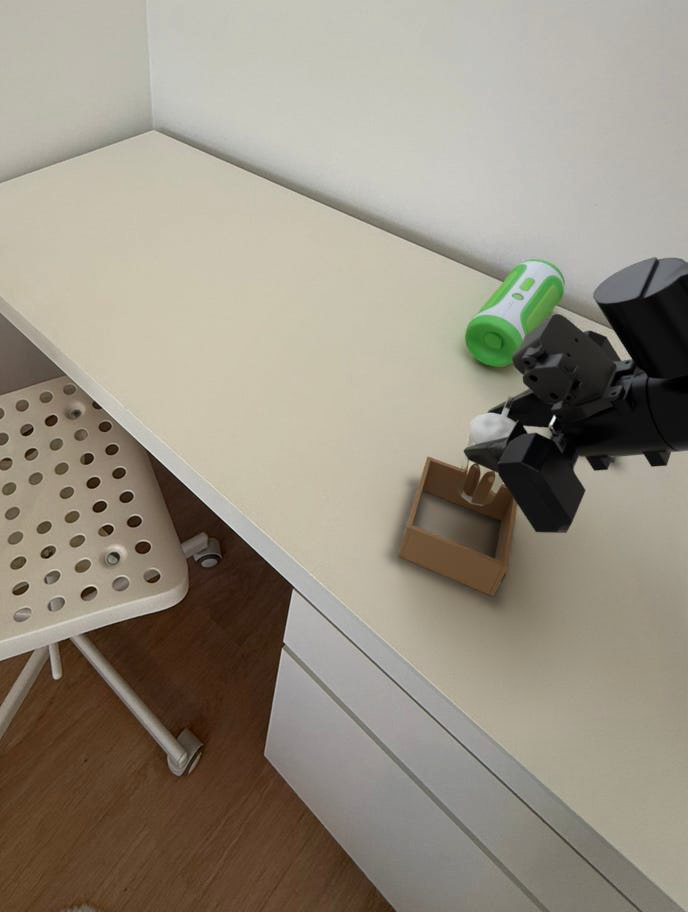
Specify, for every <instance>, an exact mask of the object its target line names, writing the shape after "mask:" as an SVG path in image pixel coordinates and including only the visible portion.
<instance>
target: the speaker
mask: <svg viewBox="0 0 688 912" xmlns="http://www.w3.org/2000/svg"><path fill="white" fill-rule="evenodd" d="M565 284H566V283H565V277H564V275H563V273H562V271H561V269H559V268H558V267H557V266H556V265H555V264H553V263H552V262H549V261H547V260H544V259H539V258H538V259H537V258H535V259H533V258H532V259H529V260H525V261H523V262H521V263H519V264H517V265H515V267H514V268H512V269H511V270H510V272H509V274H508V276H507V277H506V278H505V279H504V280H503V282H502V283H501V284H500V285H499V287H498V288H497V289H496V290H495V292H494V293H493V294H492V295H491V296H490V297H489V298H488V299H487V301H486V302H485V303H484V305H482V307H481V308H480V309H479V310H478V312H477V313H475V314H474V315H473V316H472V317H471V318H470V320H469V322H468V324H467V327H466V330H465V334H464V341H465V342H464V343H465V345H466V347H467V350H468V351H469V352H470V354H471V355H472V356H473V358H475V359H476V360H478V361H479V362H481V363H483V365H487V366H490V367H496V368H499V367H500V368H502V367H507V366H508V365H510V364H513V362H512V356H513V354H514V353H515V351H516V350H517V349H518V348H519V346H520V345H521V343H522V341H523V340H524V337H525V335H526V334H528V333H529V332H531V331H532V330H533V329H535V328H536V327H537V326H539V325H540V324H542V323H543V322H544V321H546V320H547V319H548V318H549V316H550V315H551V313H552V312H553V310H554V309H555V307H556V306H558V304H559V303H560V302H561V301H562V299H563V296H564V293H565V292H564V291H565Z"/></svg>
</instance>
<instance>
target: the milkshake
mask: <svg viewBox="0 0 688 912" xmlns="http://www.w3.org/2000/svg"><path fill="white" fill-rule="evenodd" d="M513 399H514V396H512V395H508V396H507V398H506V400H505V401H506V403H505V406H504V409H503V411H502V414H501V415H500V414H495V413H487V412H485V413H482V414H479V415H477V416H475V417H473V418H472V420H471V422H470V424H469V427H468V433H467V439H466V445H465V448H466V447H469V446H472V445H475V444H479V443H483V442H488V441H492V440H496V439H500V438H505V437H508V436H509V434H510V432H511V431H512V429H513V427H514V425H515V423H516V422H514V421H513V420H511V419H509V418H507V415H508V412H509V410H510V407H511V404H512V402H513ZM460 468H461V472H460V477H459V481H458V486H457V487H458V490H459V492H460V494H461V496H462V497H463V498H464V499H465V500H467V501H468V502H469V503H471V504H475V505H480V506H484V505H486V504H489V503H491V502H492V501H493V499H494V497H495V496H496V494H497V492H498V490H499V488H500V487H501V485H502V484H504V483H503V481H502V480H501V478H500V477H499V473H497V472H495V471H492V470H490V469H488V468H486V467H483V466H481V465H479V464H476V463H474V462H472V461H470V460H469V459H468V458H467V457H466V455H465V454H463V460H462V464H461V467H460Z"/></svg>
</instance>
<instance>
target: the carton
mask: <svg viewBox="0 0 688 912" xmlns="http://www.w3.org/2000/svg"><path fill="white" fill-rule="evenodd" d="M461 468H462V467H458V466H456V465H452V464H450V463H447V462H444V461H441V460H439V459H436V458H434V457H431V456H426V460H425V463H424V467H423V469H422V473H421V475H420V478H419V482H418V485H417V488H416V492H415V495H414V499H413V502H412V506H411V509H410V512H409V515H408V519H407V523H406V526H405V530H404V532H403V536H402V539H401V542H400V547H399V550H398V553H397V556H398V557H399V558H402V559H404V560H406V561H408V562H411V563H414V564H416V565H418V566H420V567H423V568H425V569H427V570H429V571H432V572H434V573H437V574H439V575H440V576H441V575H442V576H444V577H446V578H449V579H451V580H453V581H456V582H458V583H461V584H462V585H466V586H467V587H470V588H472V589H475V590H476V591H479V592H482V593H484V594H486V595H489V596H491V597H494V596H495V594H496V592H497V589H498V588H499V586H500V584H501V583H503V581H504V579H505V577H506V575H507V570H508V568H509V562H510V557H511V556H510V555H511V550H512V543H513V537H514V530H515V524H516V517H517V510H518V504H517V503H516V501H515V500H514V498H513V496H512V495H511V493H510V492H509V490H508V489H507V487H506V486H505V484H504V483H502V485H501V487H500V488H499V490H498V492H497V494H496V496H495V497H494V499H493V501H492V502H491V503H489V504H486V505H484V506H480V505H475V504H471V503H469V502H468V501H467V500H465V499H464V498H463V497H462V496H461V494H460V492H459V490H458V487H457V486H458V481H459V477H460V472H461ZM423 492H424V493H425V492H426V493H427V494H431V495H433V496H435V497H438V498H441V499H443V500H446V501H448V502H451V503H454V504H456V505H459V506H461V507H464V508H466V509H470V510H471V511H474V512H477V513H480V514H483V515H485V516H487V517H490V518H492V519H496V520H498V521H500V527H499V531H498V538H497V542H496V543H497V544H496V549H495V555H494V557H492V556H489V555H487V554H484V553H482V552H479V551H476V550H474V549H472V548H470V547H467V546H465V545H463V544H460V543H458V542H456V541H452V540H451V539H447V538H445V537H443V536H441V535H438V534H436V533H432V532H431V531H427V530H426V529H423V528H420V527H418V526H416V525H413V524H414V521H415V517H416V513H417V511H418V507H419V503H420V499H421V495H422V493H423Z"/></svg>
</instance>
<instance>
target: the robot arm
mask: <svg viewBox="0 0 688 912" xmlns="http://www.w3.org/2000/svg"><path fill="white" fill-rule="evenodd" d="M592 298H593V300H594V301H595V303H596V305H597V306H598V308H599V310H600V311H601V312H602V314H603V316H604V317H605V319H606V321H607V323H608V324H609V325H610V327H611V328H612V330H613V332H614V333H615V335H616V337H617V338H618V339H619V341H620V343H621V344H622V346H623V347H624V349H625V351H626V352H627V354H628V355H629V357H630V358H629V359H624V360H622V359H621V358H620V356H619V355H618V353H617V351H616V350H615V348H614V347H613V345H612V343H611V342H610V340H609V339H608V336H605V335H603V334H601V333H598V332H596V331H593V330H591V329H590V330H586V331H582V330H581V329H580V328H579V327H577V325H575V323H573V322H572V321H571V320H569V319H568V318H567V317H566V316H564V315H562V314H560V313H554V314H552V315H551V316H550V317H547V319H546V320H545V321H544V322H543V323H542V324H540V325H539V326H537V327H536V328H535V329H533V330H532V331H531V332H529V333H528V334H526V335H525V337H524V340H523V341H522V343H521V345H520V346H519V348H518V349H517V350H516V351H515V353H514V354H513V356H512V364H513V366H514V367H515V369H516V370H517V371H518V373H520V374H521V375H522V376H521V377H522V378H521V379H522V383H523V384H524V386H526V387H527V389H525V390H523V391H522V392H520V393H518V394H516V395H515V396H513V397H514V399H513V402H512V404H511V407H510V410H509V412H508V415H507V418H509V419H511V420H513V421H514V422H516V423H515V425H514V427H513V429H512V431H511V432H510V434H509V436H508V437H505V438H500V439H496V440H492V441H488V442H483V443H479V444H475V445H472V446H469V447H466V446H465V448H464V449H463V453H464V455H466V457H467V458H468V459H469V460H470V461H472V462H474V463H476V464H479V465H481V466H483V467H486V468H488V469H490V470H492V471H495V472H497V473H499V477H500V478H501V480H502V481H503V483H502V484H505V486H506V487H507V489H508V490H509V492H510V493H511V495H512V496H513V498H514V500H515V501H516V503H517V504H518V505H517V507H519V509H520V510H521V512H522V513H523V515H524V516H525V518H526V520H527V521H528V523H529V524H530V526H531V527H532V529H533V530H534V532H535V533H540V534H567V533H568V531H569V529H570V527H571V526H572V524H573V521H574V519H575V517H576V514H577V512H578V510H579V507H580V505H581V503H582V500H583V497H584V495H585V494H586V491H587V490H586V488H585V486H584V485H583V484H582V482H581V480H580V479H579V477H578V476H577V474H576V473H575V472H576V471H575V466H576V465H577V462H578V460H579V458H583V457H585V459H586V460H587V462H588V464H589V466H590V467H591V469H592V470H593V471H594V472H598V471H608V469H609V467H610V465H611V463H612V461H611V460H612V457H615V458H620V457H631V456H644V457H645V459H646V460H647V462H648V464H649V465H650V467H653V468H654V467H667V466H668V464H669V460H670V457H671V454H672V453H678V452H680V453H681V452H688V261H686V260H684V259H683V258H679V257H663V258H657V257H655V256H654V257H651V258H647V259H644V260H641V261H638V262H635V263H633V264H631V265H628V266H625V267H624V268H622V269H620V270H618V271H617V272H615V273H613V274H612V275H610V276H608V277H607V278H605V279H604V280H603V281H602V282H601V283H600V284H599V285H598V286H597V287H596V288H595V289H594V291H593V295H592ZM506 401H507V400H505V401H503V402H501V403H499V404H497V405H496V406H494V407H491V408H490V409H488V411H487V412H486V413H495V414H500V415H501V414H502V411H503V409H504V406H505V403H506ZM525 427H532V428H534V427H535V428H545V429H549V431H550V433H551V435H550V437H549V438H548V437H546V436H544V435H542V434H540V433H538V432H530V433H528V431H527V430H526V428H525Z"/></svg>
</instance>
